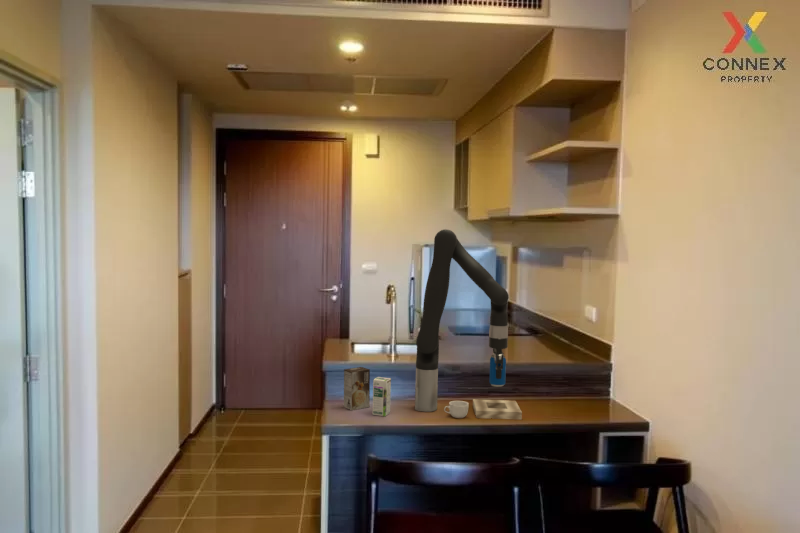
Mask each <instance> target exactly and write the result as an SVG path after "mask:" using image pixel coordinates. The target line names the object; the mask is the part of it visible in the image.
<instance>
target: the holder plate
mask: <svg viewBox="0 0 800 533" xmlns="http://www.w3.org/2000/svg"><path fill="white" fill-rule="evenodd" d="M518 404H519V403H517V401H516V400H508V399H507V400H505V399H504V400H503V399H477V398H476V399H474V398H473V399H472V408H473V412H474V415H476V416H475V418H476V419H491V418H492V420H493V419H494V420H495V419H497V420H498V419H499V420H523V416H522V415H523V412H522V410H521V408H520V406H519V405H518Z"/></svg>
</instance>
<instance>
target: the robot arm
mask: <svg viewBox="0 0 800 533" xmlns="http://www.w3.org/2000/svg"><path fill="white" fill-rule="evenodd" d="M432 255H433V256H432V263H431V267H430V269H429V274H428V277H427V281H426V285H425V289H424V290H425V291H424V297H423V305H422V306H423V308H422V319H421V323H420V328H419V331H418V334H417V337H416V340H415V343H416V358H415V385H414V386H415V388H414V389H415V391H414V393H415V394H414V411H419V412H424V413H427V412H436V411H437V410H438V388H439V387H438V386H439V384H438V383H439V382H438V381H439V379H438V378H439V377H438V376H439V356H440V355H439V352H440V351H439V350H440V337H439V336H440V335H439V333H440V332H439V331H440V324H441V319H442V316H443V313H444V310H445V306H446V303H447V300H448V293H449V286H450V278H451V277H450V275H451V272H450V271H451V263H452V260H453V261H454V262H456V264H458V266H459V267H460V268H461V269H462V271H464V273H465V274H466V275H467V276H468V277H469V279H470V280H472V281H473V284H475V285H476V286H477V287H478V288H479V289H480V290H482V291H483V292H484V294H485V295H486V296H487V297H488V298H489V300H490V319H489V320H490V321H489V322H490V323H489V334H488V335H489V336H488V347H489V348H490V349H492V355H493V356H494V360H495V362H494V363H495V364H496V378H497V379H501V375H502V369H503V357H504V356H505V355H504V352H503V350H505V349H507V348H508V344H509V343H508V340H509V338H508V337H509V329H508V320H509V319H508V301H509V293H508V291H507V290H506V288H504V287H503V286H502V285H501V284H500V283H498V282H497V281H496V280H495V278H494V277H493V275H491V273H490V272H489V271H488V270H487V269H486V268H485V267H484V266H483V265H482V264H480V262H478V260H476V259H475V258H474V257H473V255H471V254H470V253H469V252H468V251H467V250H466V249H465V247H464V246H463V245H462V244H461V242H460V240H459V239H458V237H457V235H456V234H455V232H453V231H452V230H451V229H446V228H445V229H441V230H439V231H438V232H437V233H436V234H435V236H434V240H433V254H432ZM496 359H497V361H496ZM498 364H501V366H498Z"/></svg>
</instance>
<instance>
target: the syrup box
mask: <svg viewBox="0 0 800 533" xmlns="http://www.w3.org/2000/svg"><path fill="white" fill-rule="evenodd" d="M391 384H392V378H391V377H383V376H382V377H381V376H377V377H375V378H374V379H373V381H372V386H373V387H372V413H371V414H372V416H379V417H387V416H388V415H389V414H391V393H392V392H391V388H392V387H391V386H392V385H391Z"/></svg>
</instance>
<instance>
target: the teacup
mask: <svg viewBox="0 0 800 533" xmlns="http://www.w3.org/2000/svg"><path fill="white" fill-rule="evenodd" d="M469 404H470V403H469V402H468V401H463V400H452V401H451V400H450V401H449V402H448V405H446V406H444V407H443V411H444V412H445V413H446V414H450V416H452V417H453V418H456V419H463V418H465V417H466V416H467V414H468V413H469ZM446 408H447V409H448V410H449V411H446Z"/></svg>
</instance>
